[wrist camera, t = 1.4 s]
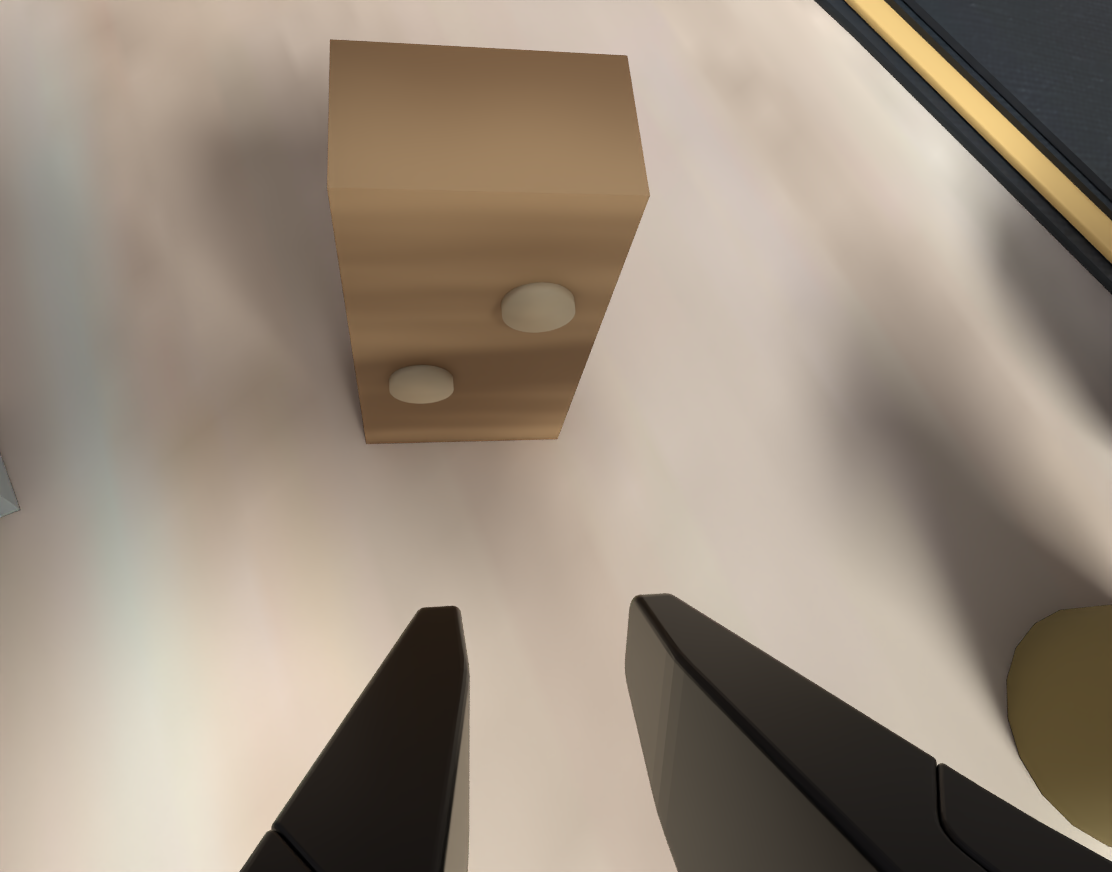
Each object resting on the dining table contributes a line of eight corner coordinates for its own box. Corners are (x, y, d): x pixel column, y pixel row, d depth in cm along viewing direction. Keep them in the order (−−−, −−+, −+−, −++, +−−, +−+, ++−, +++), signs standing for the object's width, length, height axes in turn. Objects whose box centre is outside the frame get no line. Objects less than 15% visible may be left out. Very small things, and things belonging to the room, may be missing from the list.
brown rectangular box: (558, 447, 22) (651, 207, 13) (366, 452, 22) (327, 201, 12) (547, 333, 24) (625, 44, 15) (366, 333, 23) (329, 28, 14)
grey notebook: (1424, 160, 31) (1188, 338, 26) (1371, 194, 32) (1139, 367, 27) (1041, -175, 36) (780, -82, 31) (1012, -130, 37) (761, -35, 32)
